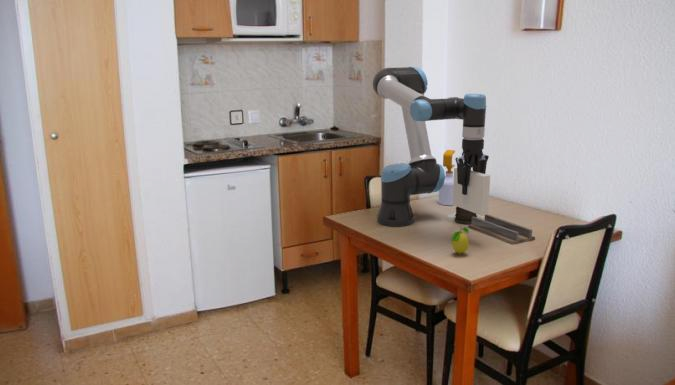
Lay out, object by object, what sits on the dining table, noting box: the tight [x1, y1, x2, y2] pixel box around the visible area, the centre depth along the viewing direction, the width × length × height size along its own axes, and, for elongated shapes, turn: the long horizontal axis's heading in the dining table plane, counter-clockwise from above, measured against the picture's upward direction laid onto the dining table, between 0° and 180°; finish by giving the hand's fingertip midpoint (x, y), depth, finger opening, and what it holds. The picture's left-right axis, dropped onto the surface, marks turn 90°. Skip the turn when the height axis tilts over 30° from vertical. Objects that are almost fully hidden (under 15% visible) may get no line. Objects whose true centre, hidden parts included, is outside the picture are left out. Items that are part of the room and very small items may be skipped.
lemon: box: [451, 226, 470, 255], centre depth 189 cm, size 7×6×10 cm
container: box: [454, 206, 478, 225], centre depth 226 cm, size 9×9×18 cm
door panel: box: [452, 167, 491, 216], centre depth 201 cm, size 4×16×14 cm, turn 27°
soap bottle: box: [437, 149, 456, 207], centre depth 254 cm, size 9×9×25 cm
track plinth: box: [467, 213, 536, 245], centre depth 211 cm, size 11×24×4 cm, turn 27°
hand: (470, 202), depth 202 cm, fingers closed on door panel, 3 cm apart
